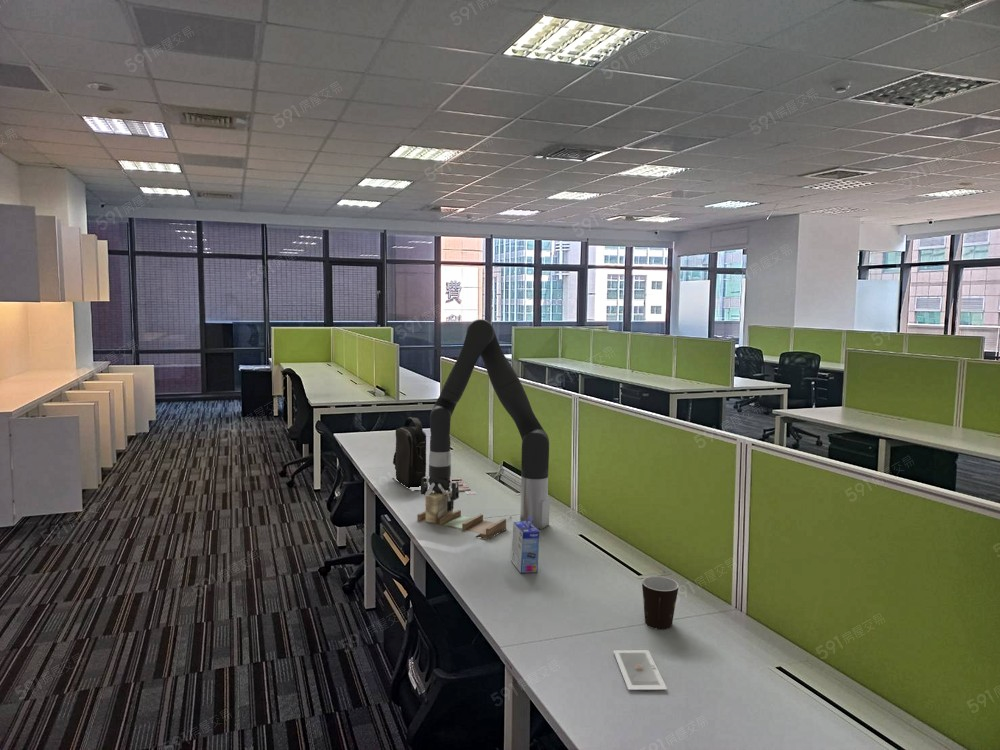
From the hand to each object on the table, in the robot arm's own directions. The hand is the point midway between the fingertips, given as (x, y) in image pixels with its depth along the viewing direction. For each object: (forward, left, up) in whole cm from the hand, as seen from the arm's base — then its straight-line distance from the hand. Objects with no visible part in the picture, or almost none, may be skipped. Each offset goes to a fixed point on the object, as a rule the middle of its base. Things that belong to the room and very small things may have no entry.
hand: (439, 509), depth 234 cm
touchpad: (-89, +58, -5) cm, 106 cm away
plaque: (+16, -40, -6) cm, 43 cm away
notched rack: (-9, 0, -5) cm, 10 cm away
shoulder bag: (+38, -36, -5) cm, 52 cm away
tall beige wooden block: (0, 0, -3) cm, 3 cm away
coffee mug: (-86, +36, -5) cm, 93 cm away
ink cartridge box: (-43, +20, -5) cm, 48 cm away
